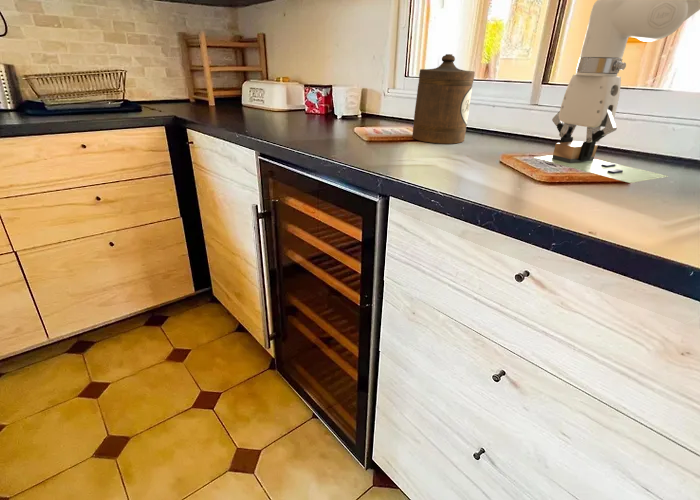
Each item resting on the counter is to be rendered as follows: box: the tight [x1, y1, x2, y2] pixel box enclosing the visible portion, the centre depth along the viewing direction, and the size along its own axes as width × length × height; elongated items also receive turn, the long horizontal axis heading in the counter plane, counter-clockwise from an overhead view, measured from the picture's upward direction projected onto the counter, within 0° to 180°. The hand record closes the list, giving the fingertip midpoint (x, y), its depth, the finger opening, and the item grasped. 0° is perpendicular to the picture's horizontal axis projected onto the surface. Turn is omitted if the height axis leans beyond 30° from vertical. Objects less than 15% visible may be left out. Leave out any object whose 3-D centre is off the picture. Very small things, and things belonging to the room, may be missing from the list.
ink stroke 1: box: [601, 162, 617, 167], centre depth 84 cm, size 1×3×1 cm, turn 117°
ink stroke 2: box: [608, 169, 623, 174], centre depth 79 cm, size 1×3×1 cm, turn 116°
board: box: [532, 154, 670, 184], centre depth 84 cm, size 22×13×1 cm, turn 26°
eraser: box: [552, 140, 599, 163], centre depth 88 cm, size 4×8×4 cm, turn 117°
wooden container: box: [411, 53, 476, 145], centre depth 110 cm, size 15×15×22 cm
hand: (573, 156), depth 89 cm, fingers closed on eraser, 4 cm apart
